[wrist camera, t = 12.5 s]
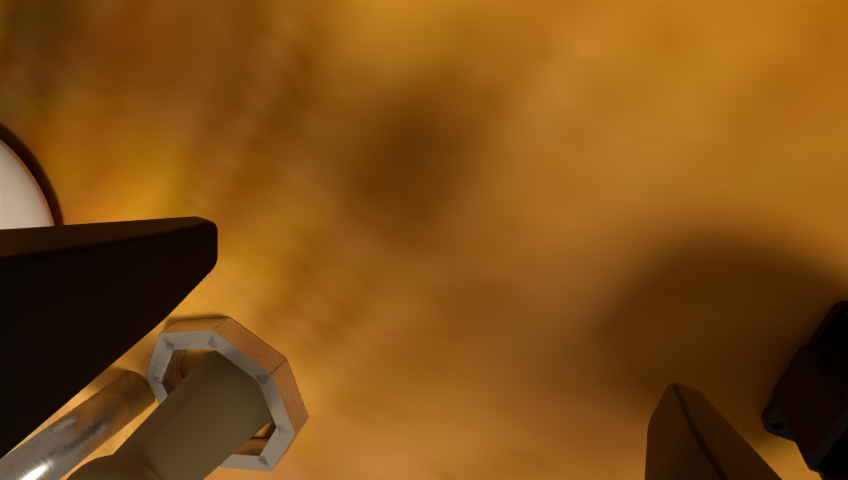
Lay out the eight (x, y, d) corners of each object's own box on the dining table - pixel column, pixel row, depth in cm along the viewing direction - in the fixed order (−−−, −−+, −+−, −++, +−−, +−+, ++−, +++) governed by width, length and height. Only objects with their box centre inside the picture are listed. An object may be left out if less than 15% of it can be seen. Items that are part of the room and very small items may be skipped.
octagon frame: (269, 314, 29) (141, 419, 21) (323, 456, 32) (229, 595, 24) (93, 327, 35) (-58, 412, 27) (152, 445, 38) (32, 553, 30)
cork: (269, 442, 33) (130, 610, 23) (194, 402, 34) (32, 547, 24) (282, 377, 30) (130, 537, 21) (200, 336, 31) (20, 469, 22)
